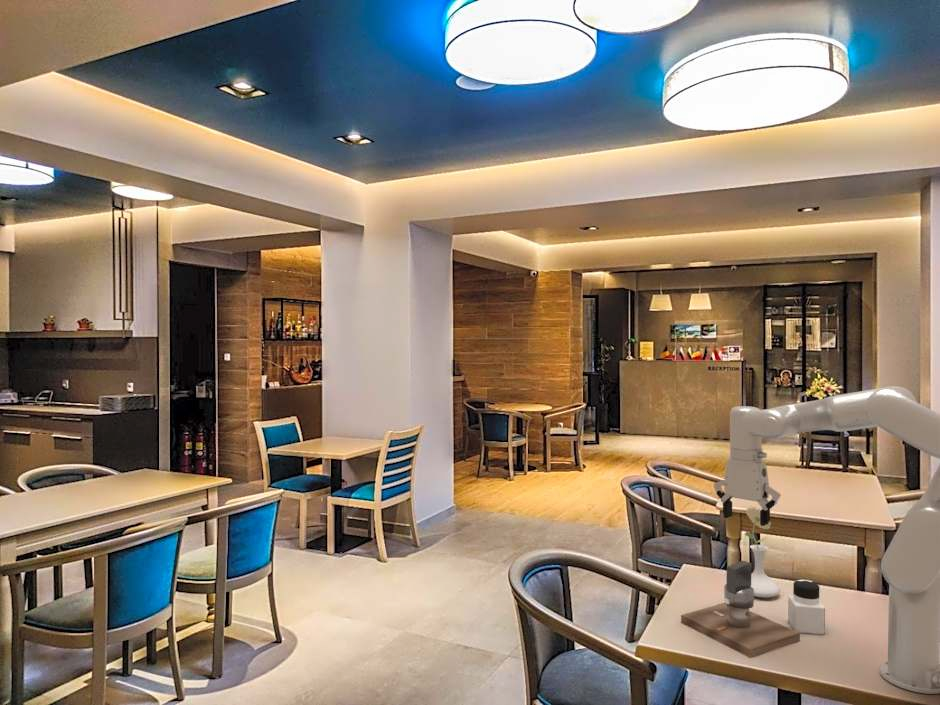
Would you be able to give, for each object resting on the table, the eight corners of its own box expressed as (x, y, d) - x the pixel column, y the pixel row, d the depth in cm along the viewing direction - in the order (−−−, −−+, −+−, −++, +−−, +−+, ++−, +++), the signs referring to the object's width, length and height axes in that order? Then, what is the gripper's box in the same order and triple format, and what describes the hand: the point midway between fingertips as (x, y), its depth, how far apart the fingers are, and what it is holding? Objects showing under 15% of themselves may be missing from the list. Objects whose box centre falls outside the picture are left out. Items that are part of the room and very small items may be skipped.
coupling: (734, 595, 177) (734, 558, 176) (759, 603, 171) (759, 565, 171) (714, 604, 171) (714, 566, 171) (739, 613, 165) (739, 573, 165)
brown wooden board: (799, 640, 166) (800, 613, 166) (750, 657, 158) (750, 628, 158) (728, 608, 186) (728, 583, 186) (681, 622, 177) (681, 596, 177)
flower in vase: (788, 600, 191) (788, 514, 190) (749, 602, 190) (750, 515, 190) (764, 583, 204) (765, 502, 203) (728, 584, 203) (729, 503, 203)
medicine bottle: (825, 635, 169) (825, 588, 169) (795, 632, 171) (795, 586, 171) (816, 623, 176) (817, 578, 176) (787, 620, 178) (787, 576, 178)
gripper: (786, 457, 167) (786, 525, 167) (721, 448, 180) (721, 511, 181) (772, 461, 162) (772, 531, 163) (707, 452, 175) (707, 517, 176)
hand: (745, 520), depth 172 cm, fingers open, 9 cm apart
